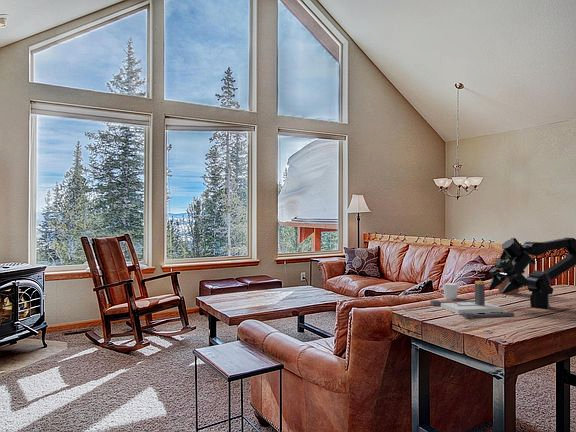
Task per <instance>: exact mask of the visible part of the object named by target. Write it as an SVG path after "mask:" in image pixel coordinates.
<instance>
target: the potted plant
mask: <svg viewBox="0 0 576 432" xmlns="http://www.w3.org/2000/svg"><path fill="white" fill-rule="evenodd" d="M514 258H515V257H510V256H509V255H508V254H507V253H506V252H505V251H504V250H503V251H502V253H501V255H500V257H499V259H503V260H506V259H510V260H512V261H513V260H514ZM492 269H499V270H500V271H501V272H502V273H503V271H502V270H501V268H500V267H498V266H493V267H492ZM521 274H522V275H523V276H524V273H521ZM508 282H509V279H506V278H505V280H504V281H502V283H501V284H500V285H498V286H497V287H496V288H497V291H498V293H499V294H502V295H504V294H503V293H502V291H503V289H504V288H505V287H506V285H507V284H508ZM519 290H520V288H518V289H515V290H513V291H510V292H508V293H506V294H505V295H508V296H509V294H515V295H518V294H519Z"/></svg>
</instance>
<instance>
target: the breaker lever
mask: <svg viewBox="0 0 576 432" xmlns="http://www.w3.org/2000/svg"><path fill="white" fill-rule="evenodd" d="M485 285H486V284H485V281H483V280H475V281H474V300H475V304H478V305H485V302H486V299H485V297H486V296H485V295H486V293H485V287H486V286H485Z"/></svg>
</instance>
